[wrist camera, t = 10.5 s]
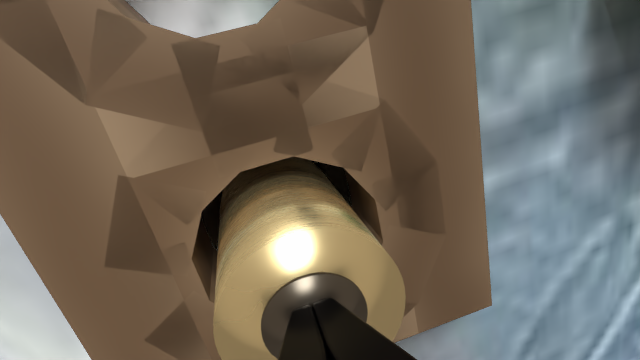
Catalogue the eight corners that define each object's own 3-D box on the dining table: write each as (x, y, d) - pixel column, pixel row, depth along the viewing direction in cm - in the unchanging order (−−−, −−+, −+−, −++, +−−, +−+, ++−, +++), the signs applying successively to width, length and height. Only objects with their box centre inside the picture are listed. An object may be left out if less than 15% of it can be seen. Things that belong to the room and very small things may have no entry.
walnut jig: (373, -326, 9) (436, -495, 6) (444, 260, 15) (492, 305, 13) (-178, -265, 7) (-421, -458, 5) (159, 362, 14) (141, 439, 11)
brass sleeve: (319, 138, 13) (391, 205, 7) (342, 236, 14) (418, 358, 8) (203, 171, 12) (180, 274, 6) (241, 270, 13) (249, 425, 8)
